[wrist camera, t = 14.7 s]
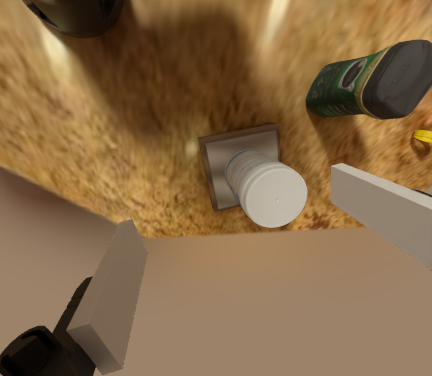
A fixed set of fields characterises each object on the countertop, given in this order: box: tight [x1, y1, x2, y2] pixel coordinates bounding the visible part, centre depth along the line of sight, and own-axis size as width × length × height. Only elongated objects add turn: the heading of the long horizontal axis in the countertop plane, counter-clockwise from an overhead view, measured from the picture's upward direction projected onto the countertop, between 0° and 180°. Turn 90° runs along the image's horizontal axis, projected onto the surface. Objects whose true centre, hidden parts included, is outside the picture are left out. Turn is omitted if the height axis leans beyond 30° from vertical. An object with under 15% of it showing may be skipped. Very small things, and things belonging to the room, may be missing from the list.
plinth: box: [198, 123, 281, 212], centre depth 45 cm, size 16×16×4 cm
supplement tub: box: [225, 149, 307, 228], centre depth 36 cm, size 10×10×15 cm
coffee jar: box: [306, 40, 432, 120], centre depth 35 cm, size 10×8×19 cm
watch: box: [412, 130, 432, 143], centre depth 48 cm, size 6×3×6 cm, turn 71°
